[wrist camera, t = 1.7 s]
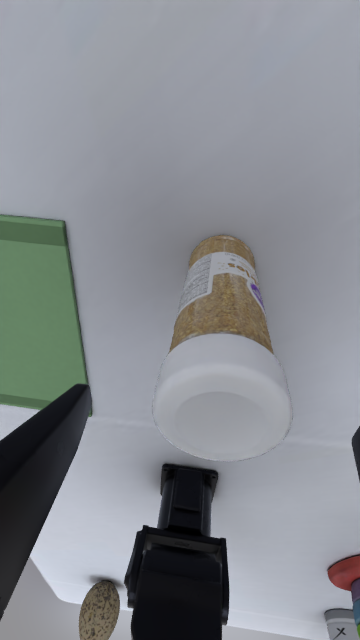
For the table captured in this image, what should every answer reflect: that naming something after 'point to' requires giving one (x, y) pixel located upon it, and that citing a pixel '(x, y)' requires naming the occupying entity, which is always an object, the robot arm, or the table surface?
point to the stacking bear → (348, 582)
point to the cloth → (37, 314)
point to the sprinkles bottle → (222, 362)
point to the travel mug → (341, 625)
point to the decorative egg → (99, 612)
